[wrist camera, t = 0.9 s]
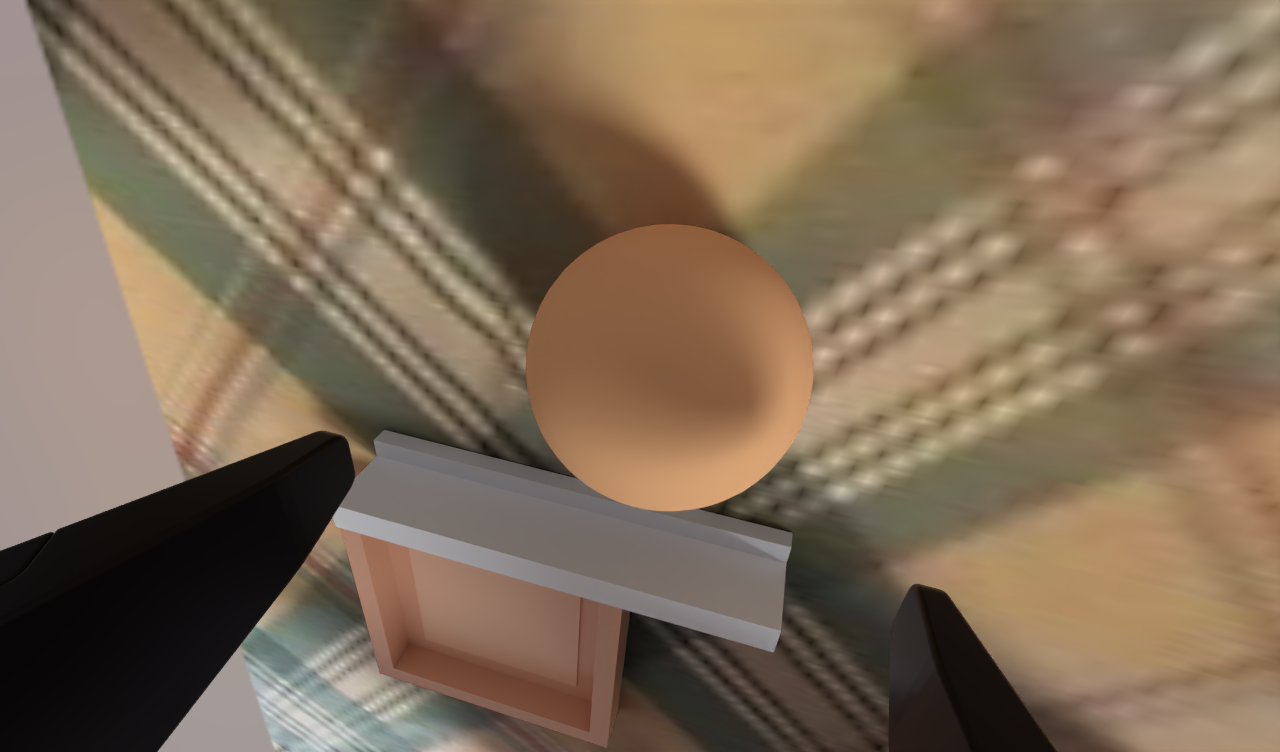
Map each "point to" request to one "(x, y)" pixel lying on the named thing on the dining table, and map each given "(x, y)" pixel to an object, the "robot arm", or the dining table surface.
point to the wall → (573, 538)
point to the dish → (492, 638)
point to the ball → (669, 367)
